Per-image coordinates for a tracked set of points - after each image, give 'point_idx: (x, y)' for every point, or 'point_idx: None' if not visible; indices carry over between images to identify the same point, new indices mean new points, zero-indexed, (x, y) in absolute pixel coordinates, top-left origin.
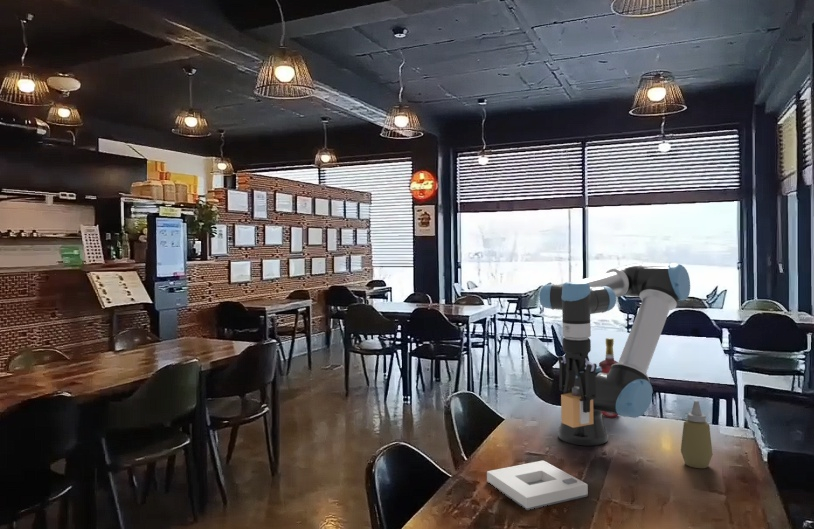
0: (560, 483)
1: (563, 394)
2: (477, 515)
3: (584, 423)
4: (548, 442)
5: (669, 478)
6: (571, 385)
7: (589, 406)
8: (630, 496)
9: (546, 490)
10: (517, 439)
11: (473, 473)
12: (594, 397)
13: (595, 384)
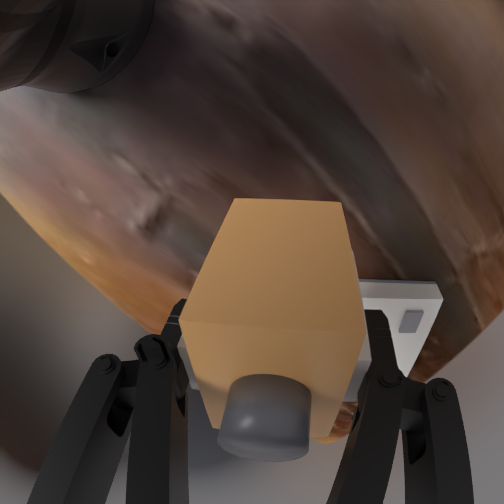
0: (401, 337)
1: (217, 423)
2: None
3: None
4: (86, 134)
5: (479, 25)
6: (178, 435)
7: (391, 342)
8: (492, 206)
9: (402, 367)
10: (57, 199)
11: None
12: (449, 398)
13: (471, 487)
